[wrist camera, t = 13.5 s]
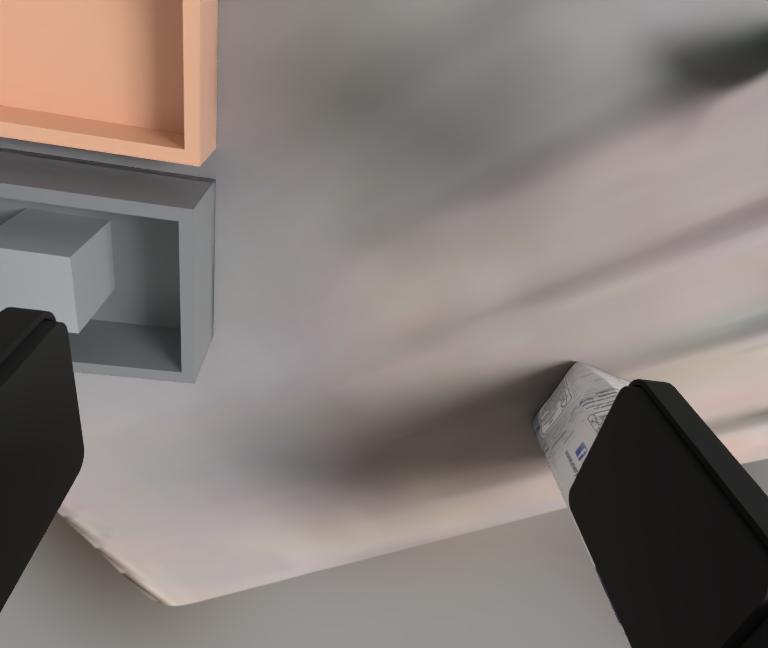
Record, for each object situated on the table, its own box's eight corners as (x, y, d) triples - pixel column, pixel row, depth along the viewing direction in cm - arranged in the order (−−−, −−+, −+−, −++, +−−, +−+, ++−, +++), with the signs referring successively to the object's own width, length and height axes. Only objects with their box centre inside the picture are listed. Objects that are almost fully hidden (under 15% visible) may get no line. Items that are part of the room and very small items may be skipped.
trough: (-172, -171, 25) (-265, -203, 22) (219, -87, 28) (199, -101, 24) (-102, 98, 31) (-165, 111, 27) (216, 148, 34) (199, 166, 30)
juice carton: (570, 346, 43) (830, 737, 20) (670, 384, 46) (1000, 767, 23) (513, 425, 47) (676, 827, 24) (609, 456, 50) (837, 844, 27)
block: (27, 208, 34) (-29, 244, 29) (110, 220, 35) (70, 257, 30) (37, 278, 37) (-13, 322, 32) (115, 288, 37) (78, 333, 32)
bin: (-93, 134, 32) (-176, 158, 27) (215, 179, 35) (193, 209, 30) (-48, 307, 38) (-109, 354, 33) (213, 335, 41) (194, 383, 36)
